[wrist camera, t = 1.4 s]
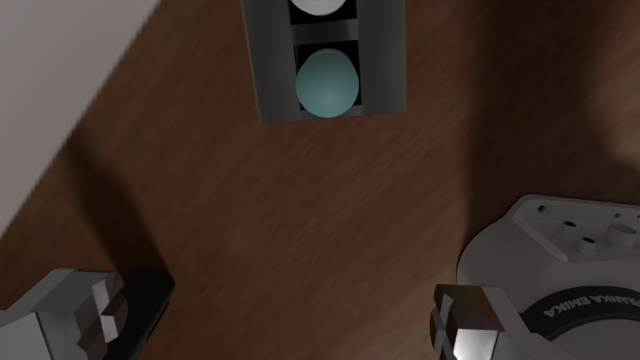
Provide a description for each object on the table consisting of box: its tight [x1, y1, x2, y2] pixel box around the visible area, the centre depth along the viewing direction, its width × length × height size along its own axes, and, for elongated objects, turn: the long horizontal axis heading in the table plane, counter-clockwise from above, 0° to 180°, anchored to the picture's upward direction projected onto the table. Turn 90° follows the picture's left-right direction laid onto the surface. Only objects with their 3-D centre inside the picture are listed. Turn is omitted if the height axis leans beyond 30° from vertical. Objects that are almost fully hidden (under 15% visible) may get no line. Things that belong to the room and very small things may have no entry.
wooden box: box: [240, 0, 407, 124], centre depth 31 cm, size 12×13×8 cm
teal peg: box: [296, 46, 359, 117], centre depth 28 cm, size 4×4×8 cm
